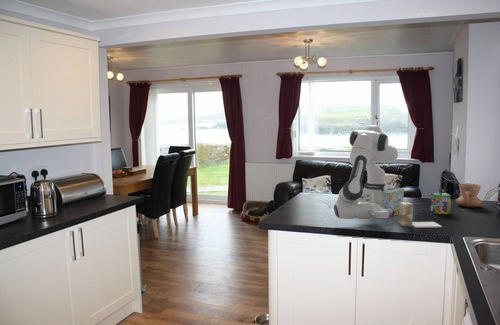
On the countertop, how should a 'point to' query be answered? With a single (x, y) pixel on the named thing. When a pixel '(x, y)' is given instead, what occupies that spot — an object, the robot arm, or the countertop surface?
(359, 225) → the countertop surface
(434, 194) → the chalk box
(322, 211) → the countertop surface
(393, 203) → the snack box
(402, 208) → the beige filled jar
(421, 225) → the mat
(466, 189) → the ceramic jug
